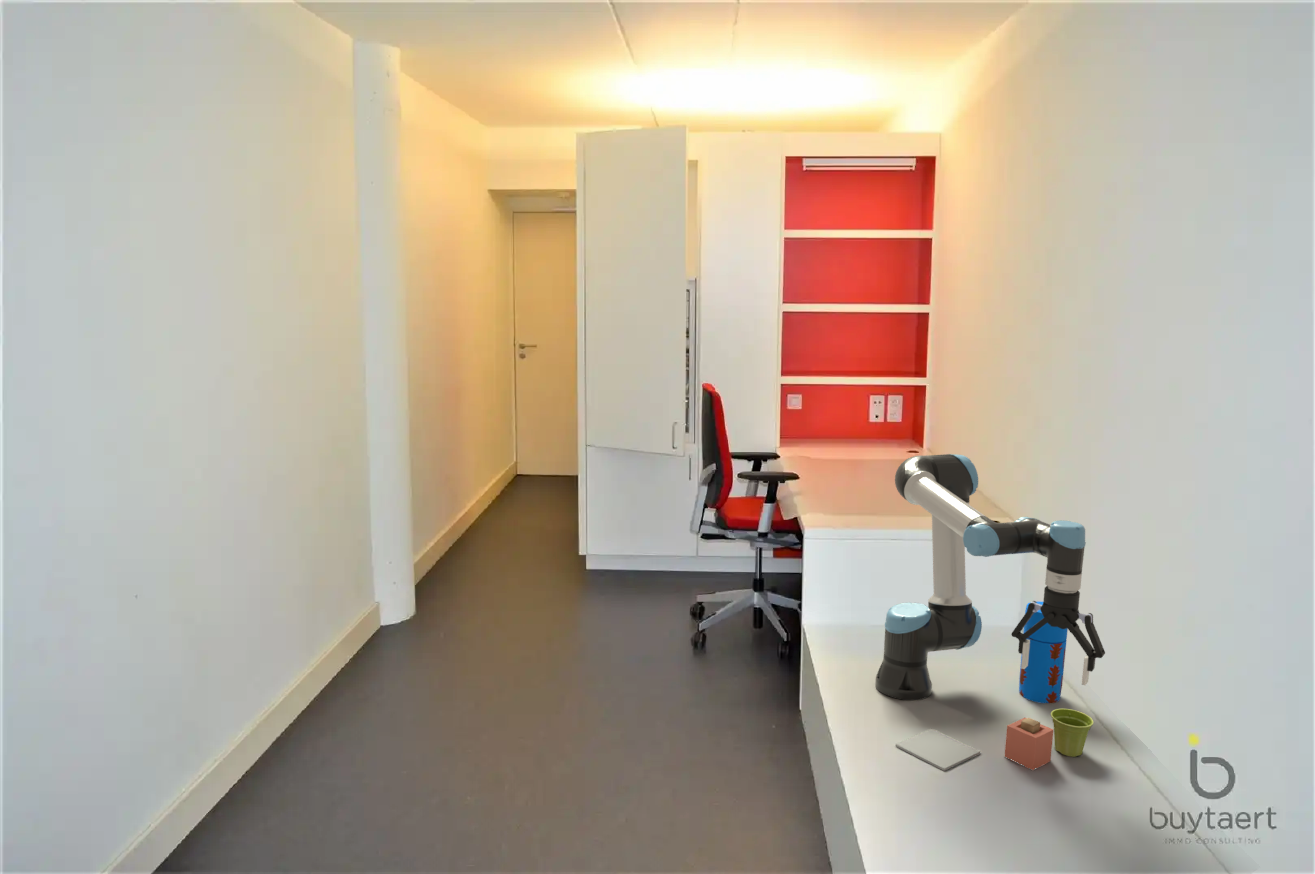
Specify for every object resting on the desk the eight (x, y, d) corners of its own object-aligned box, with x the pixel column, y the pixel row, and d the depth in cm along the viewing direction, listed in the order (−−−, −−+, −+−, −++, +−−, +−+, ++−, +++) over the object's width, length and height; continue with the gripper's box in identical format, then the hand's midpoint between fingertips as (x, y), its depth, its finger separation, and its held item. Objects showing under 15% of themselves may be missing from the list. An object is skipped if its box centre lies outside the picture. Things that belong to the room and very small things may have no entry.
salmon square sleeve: (1004, 757, 219) (1007, 725, 218) (1022, 748, 224) (1024, 717, 222) (1032, 770, 213) (1035, 738, 212) (1050, 761, 218) (1053, 729, 216)
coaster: (895, 746, 223) (895, 743, 223) (931, 730, 232) (931, 728, 232) (944, 770, 212) (944, 768, 212) (980, 753, 221) (980, 751, 220)
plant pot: (1087, 745, 226) (1091, 712, 224) (1092, 763, 217) (1095, 729, 215) (1046, 738, 229) (1049, 705, 227) (1048, 756, 220) (1052, 722, 218)
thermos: (1011, 686, 258) (1018, 601, 254) (1048, 686, 259) (1056, 600, 255) (1030, 704, 248) (1038, 615, 243) (1068, 703, 248) (1077, 614, 244)
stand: (1015, 757, 219) (1018, 720, 217) (1024, 753, 221) (1027, 716, 220) (1030, 764, 216) (1033, 726, 214) (1039, 760, 218) (1042, 722, 217)
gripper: (1002, 580, 218) (995, 665, 222) (1117, 604, 203) (1107, 695, 206) (1012, 573, 224) (1005, 656, 227) (1125, 596, 209) (1115, 684, 212)
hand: (1054, 675), depth 217 cm, fingers open, 13 cm apart
